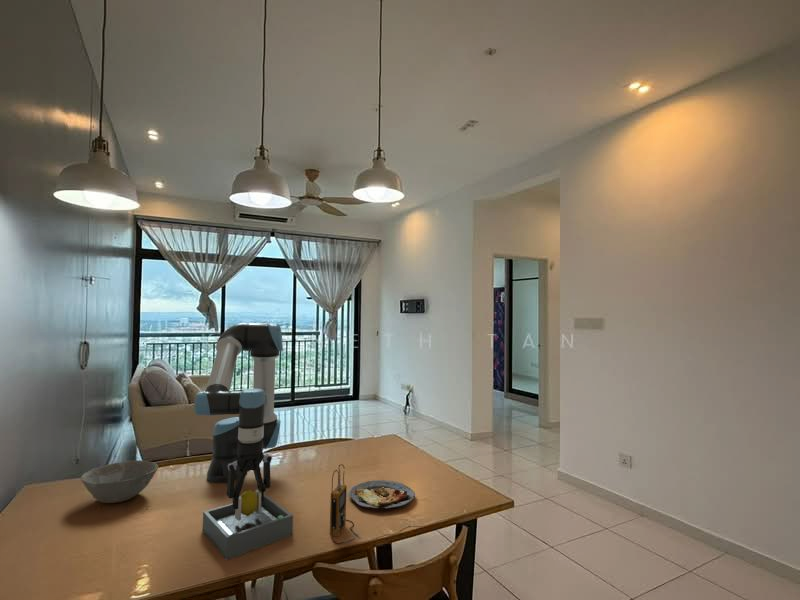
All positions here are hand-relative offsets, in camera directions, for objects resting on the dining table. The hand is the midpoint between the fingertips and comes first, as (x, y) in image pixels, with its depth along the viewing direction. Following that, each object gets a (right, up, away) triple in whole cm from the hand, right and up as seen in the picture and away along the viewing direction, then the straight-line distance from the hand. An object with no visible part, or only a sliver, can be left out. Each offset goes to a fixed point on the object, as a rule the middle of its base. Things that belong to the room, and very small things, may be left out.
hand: (247, 515), depth 126 cm
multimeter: (+31, -6, +1) cm, 32 cm away
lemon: (0, -1, 0) cm, 1 cm away
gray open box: (0, -5, 0) cm, 5 cm away
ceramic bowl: (-55, -5, +21) cm, 59 cm away
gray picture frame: (0, -2, 0) cm, 2 cm away
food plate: (+40, -8, +27) cm, 49 cm away
